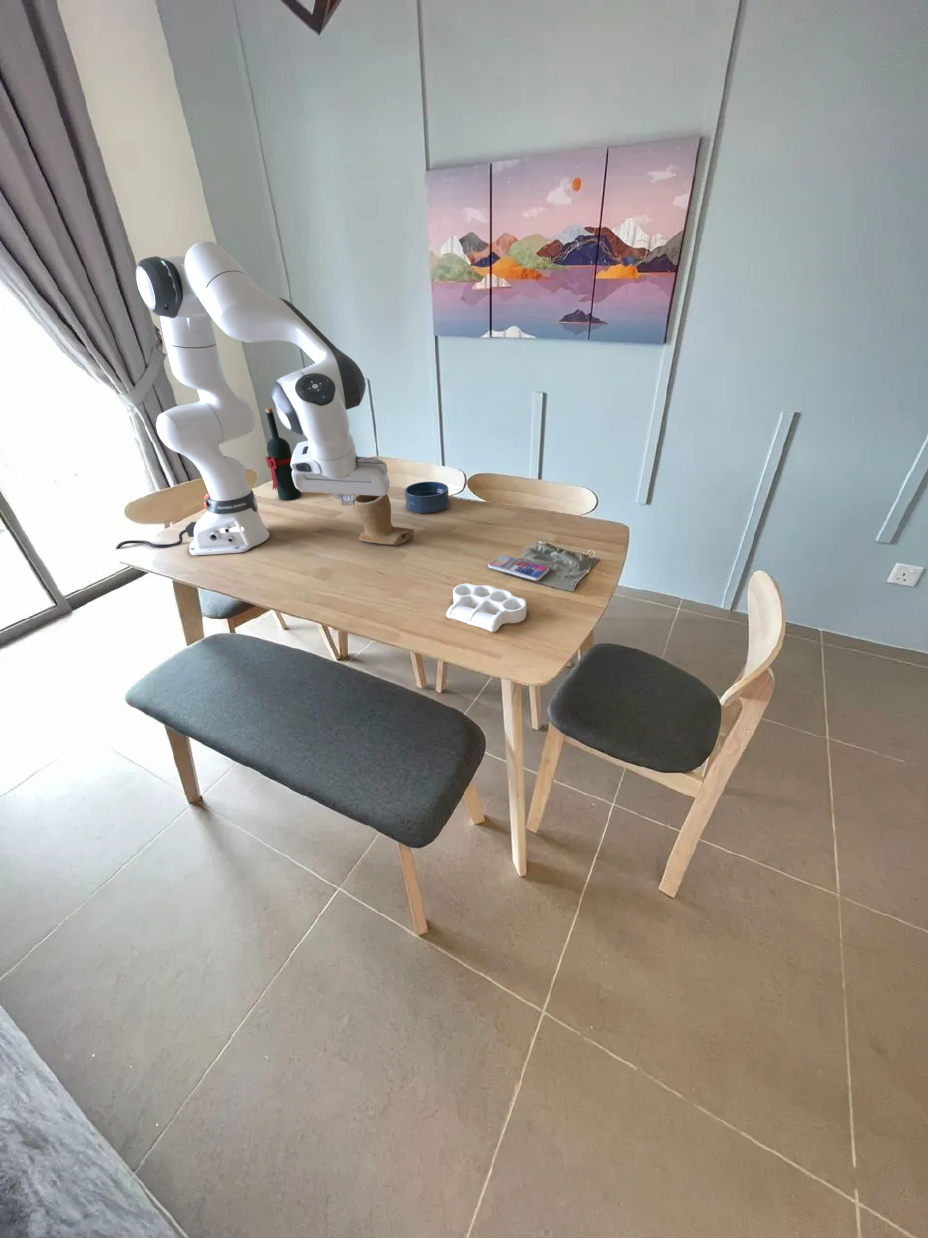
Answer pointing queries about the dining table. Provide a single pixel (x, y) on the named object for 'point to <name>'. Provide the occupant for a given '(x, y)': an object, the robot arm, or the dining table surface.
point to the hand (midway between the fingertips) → (348, 503)
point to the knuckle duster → (486, 606)
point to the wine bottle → (280, 462)
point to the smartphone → (518, 567)
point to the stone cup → (378, 521)
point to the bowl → (427, 497)
